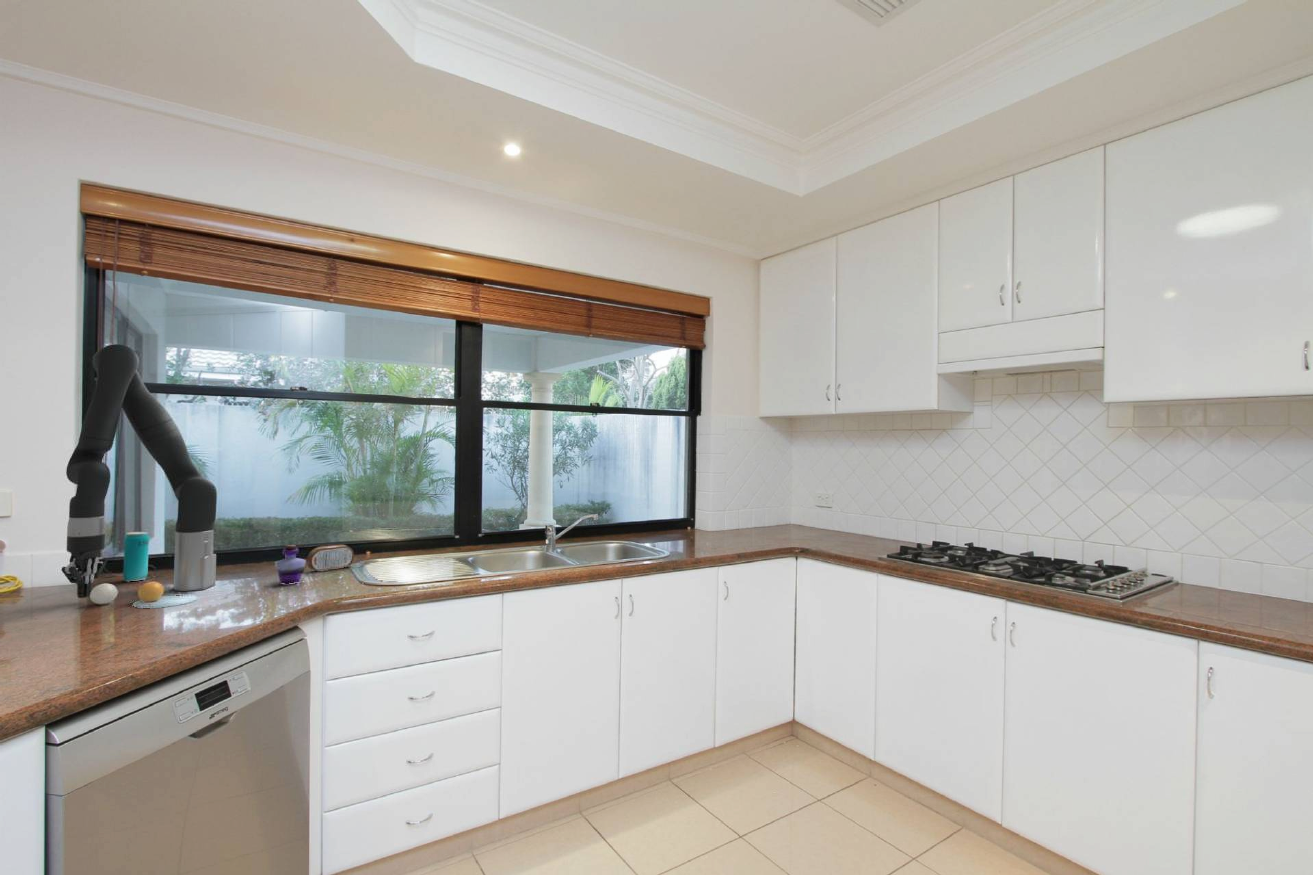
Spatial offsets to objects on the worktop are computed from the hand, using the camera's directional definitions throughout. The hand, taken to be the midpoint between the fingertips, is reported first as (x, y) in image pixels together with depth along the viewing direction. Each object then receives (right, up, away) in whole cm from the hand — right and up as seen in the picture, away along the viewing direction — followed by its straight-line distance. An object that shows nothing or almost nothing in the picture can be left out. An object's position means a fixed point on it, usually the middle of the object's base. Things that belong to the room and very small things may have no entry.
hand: (84, 597), depth 164 cm
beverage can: (-8, -2, +25) cm, 26 cm away
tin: (+41, -3, +48) cm, 63 cm away
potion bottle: (+39, -3, +27) cm, 48 cm away
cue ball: (+6, +1, -1) cm, 6 cm away
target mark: (+20, -2, +3) cm, 20 cm away
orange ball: (+16, +1, +2) cm, 16 cm away
